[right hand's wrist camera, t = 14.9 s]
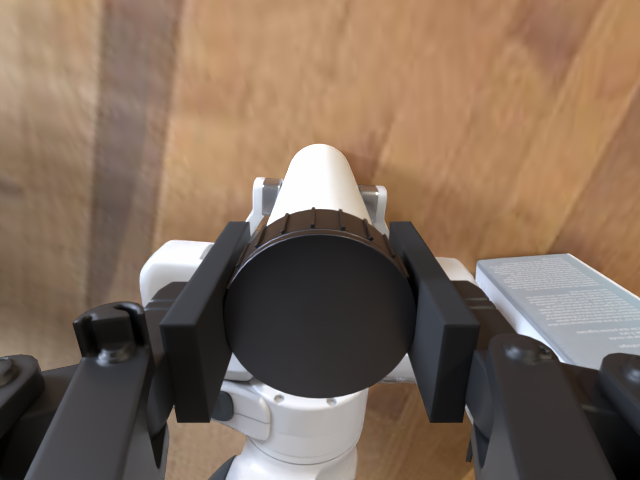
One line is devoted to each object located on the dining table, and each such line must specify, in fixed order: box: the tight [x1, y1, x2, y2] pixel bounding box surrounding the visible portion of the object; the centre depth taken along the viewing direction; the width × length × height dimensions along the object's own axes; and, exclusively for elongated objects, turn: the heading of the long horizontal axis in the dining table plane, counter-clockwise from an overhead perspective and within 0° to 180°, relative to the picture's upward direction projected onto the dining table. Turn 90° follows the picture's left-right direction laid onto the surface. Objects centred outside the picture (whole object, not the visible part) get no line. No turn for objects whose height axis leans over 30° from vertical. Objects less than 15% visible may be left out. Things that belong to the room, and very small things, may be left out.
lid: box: [223, 207, 417, 399], centre depth 11 cm, size 5×5×2 cm
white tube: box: [267, 144, 373, 226], centre depth 19 cm, size 4×4×18 cm
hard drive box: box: [465, 254, 640, 425], centre depth 23 cm, size 16×8×20 cm, turn 5°
